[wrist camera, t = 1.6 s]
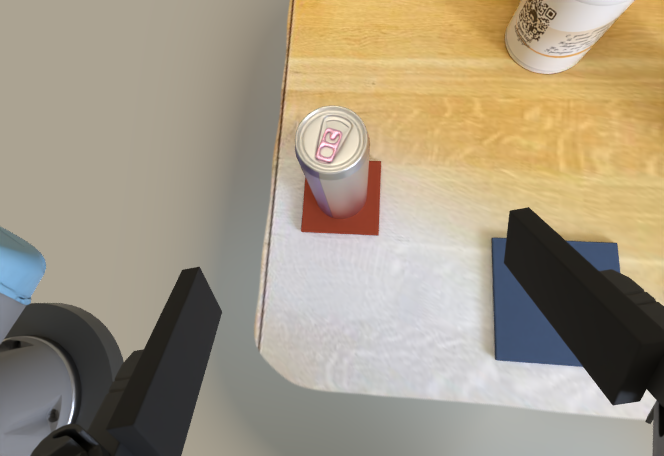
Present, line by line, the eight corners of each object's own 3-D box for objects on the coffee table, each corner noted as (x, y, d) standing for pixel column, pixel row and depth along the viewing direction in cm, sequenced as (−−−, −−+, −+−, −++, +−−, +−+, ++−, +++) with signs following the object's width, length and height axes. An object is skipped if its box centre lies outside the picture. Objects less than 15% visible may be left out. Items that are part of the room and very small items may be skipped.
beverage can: (309, 210, 41) (280, 161, 26) (326, 165, 42) (308, 94, 27) (357, 227, 40) (355, 185, 25) (373, 180, 41) (380, 114, 26)
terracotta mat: (378, 235, 40) (378, 234, 40) (301, 231, 41) (301, 231, 41) (380, 162, 42) (380, 161, 42) (307, 160, 43) (306, 159, 42)
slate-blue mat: (627, 369, 35) (630, 370, 35) (495, 359, 36) (496, 360, 36) (614, 243, 38) (617, 243, 37) (491, 238, 39) (492, 237, 39)
